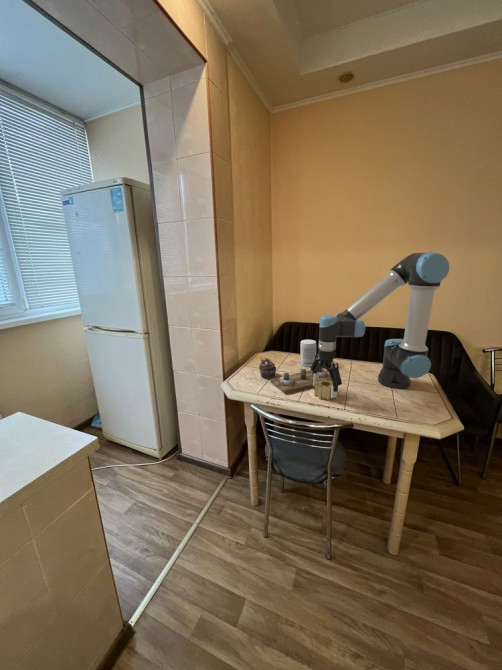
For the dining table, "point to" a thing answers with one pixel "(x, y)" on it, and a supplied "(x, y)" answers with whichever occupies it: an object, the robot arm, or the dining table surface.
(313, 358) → the supplement tub
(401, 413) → the dining table surface
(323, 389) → the brass gear
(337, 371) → the robot arm
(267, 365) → the cupcake
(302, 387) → the gear board
